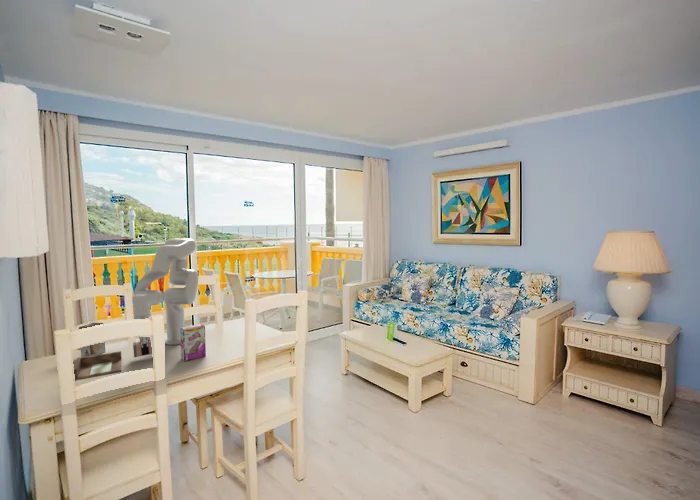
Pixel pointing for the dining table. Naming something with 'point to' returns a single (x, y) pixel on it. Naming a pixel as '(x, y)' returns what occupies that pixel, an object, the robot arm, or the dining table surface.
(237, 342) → the dining table surface
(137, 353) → the bar
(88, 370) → the tray
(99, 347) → the coffee box
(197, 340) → the candy bar box
